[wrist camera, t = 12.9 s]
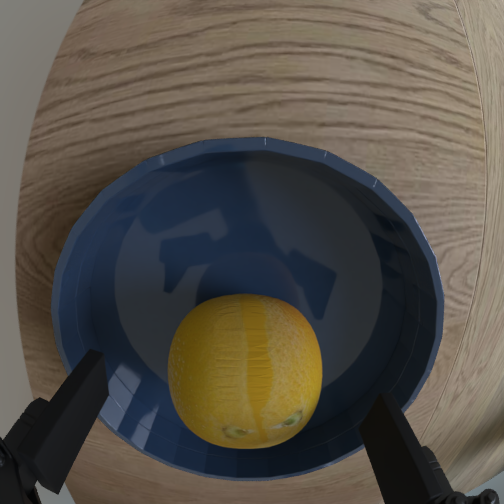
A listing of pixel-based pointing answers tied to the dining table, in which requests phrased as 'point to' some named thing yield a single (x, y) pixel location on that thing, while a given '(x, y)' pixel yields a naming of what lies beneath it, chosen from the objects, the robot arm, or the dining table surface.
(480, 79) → the dining table surface
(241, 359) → the fruit
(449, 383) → the dining table surface
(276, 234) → the bowl
